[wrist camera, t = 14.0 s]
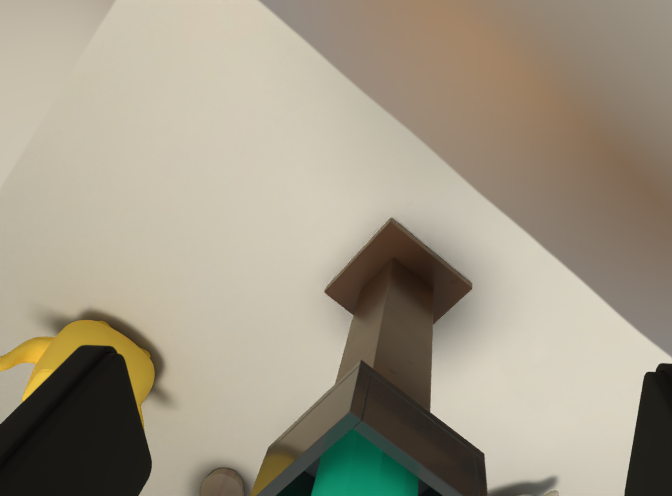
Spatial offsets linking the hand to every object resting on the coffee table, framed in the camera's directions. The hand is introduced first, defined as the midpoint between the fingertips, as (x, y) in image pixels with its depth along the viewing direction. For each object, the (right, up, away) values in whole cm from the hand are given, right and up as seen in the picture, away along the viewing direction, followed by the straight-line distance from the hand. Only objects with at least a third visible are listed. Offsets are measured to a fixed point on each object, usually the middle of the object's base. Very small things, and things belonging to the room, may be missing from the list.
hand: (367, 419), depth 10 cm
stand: (+5, 0, +45) cm, 45 cm away
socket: (+2, -9, +25) cm, 27 cm away
